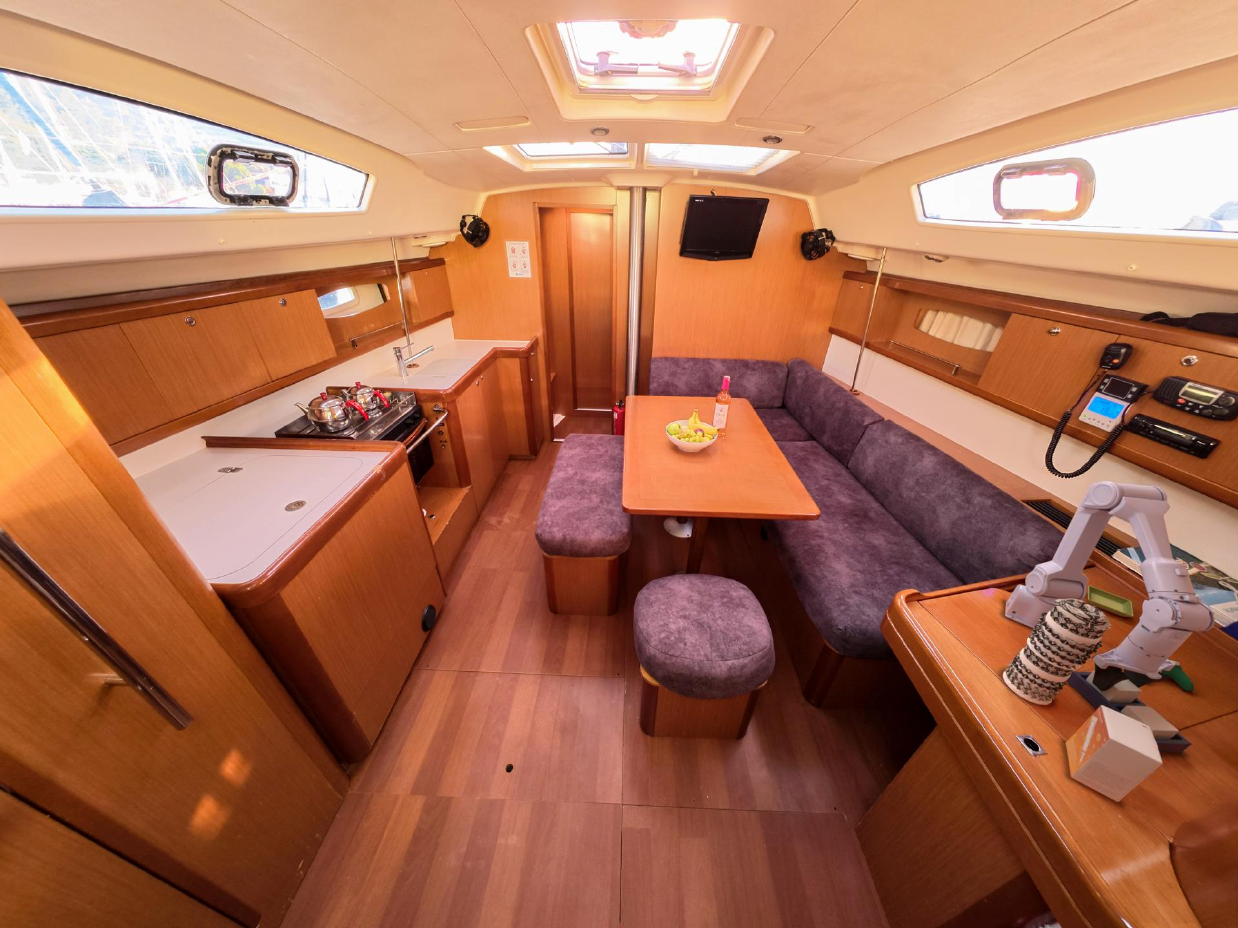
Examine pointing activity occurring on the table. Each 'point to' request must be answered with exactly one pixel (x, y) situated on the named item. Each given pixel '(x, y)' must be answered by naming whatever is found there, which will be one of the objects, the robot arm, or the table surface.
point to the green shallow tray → (1110, 602)
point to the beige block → (1151, 721)
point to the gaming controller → (1179, 676)
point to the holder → (1096, 699)
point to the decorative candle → (1056, 650)
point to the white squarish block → (1118, 691)
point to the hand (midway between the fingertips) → (1110, 687)
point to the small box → (1112, 753)
